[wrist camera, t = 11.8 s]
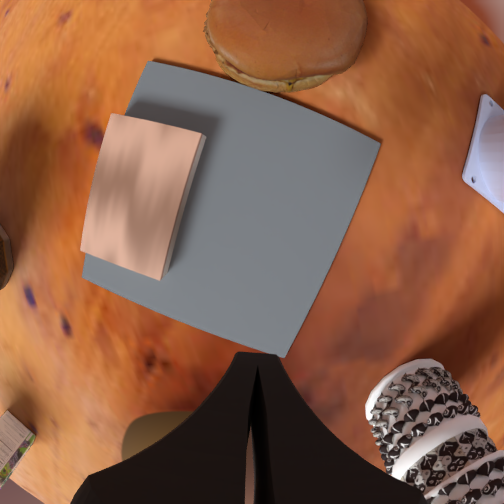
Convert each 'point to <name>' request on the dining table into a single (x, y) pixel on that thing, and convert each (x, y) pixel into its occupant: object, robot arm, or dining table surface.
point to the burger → (285, 40)
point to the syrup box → (12, 444)
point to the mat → (247, 208)
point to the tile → (140, 193)
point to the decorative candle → (434, 436)
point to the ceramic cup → (5, 258)
